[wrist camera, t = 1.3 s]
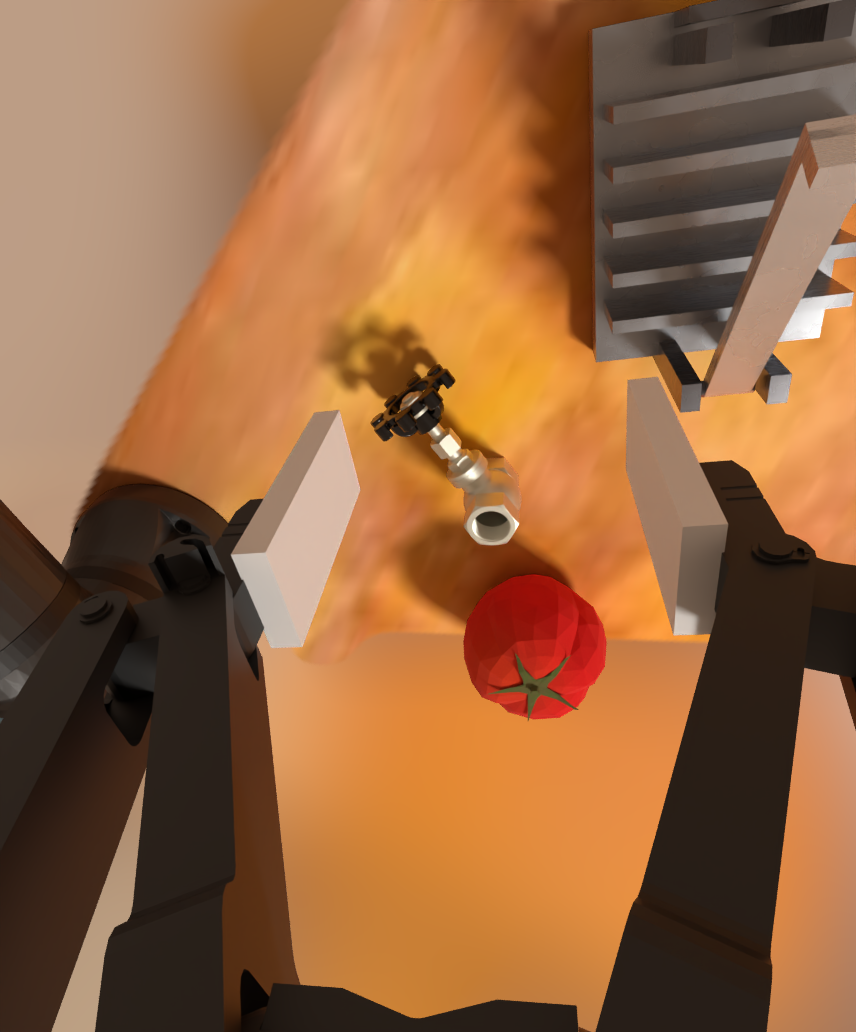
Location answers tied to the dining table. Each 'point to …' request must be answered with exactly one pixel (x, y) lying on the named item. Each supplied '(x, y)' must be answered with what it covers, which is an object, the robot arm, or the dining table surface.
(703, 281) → the heatsink
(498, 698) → the tomato
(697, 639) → the dining table surface
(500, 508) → the valve
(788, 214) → the grey long bar
